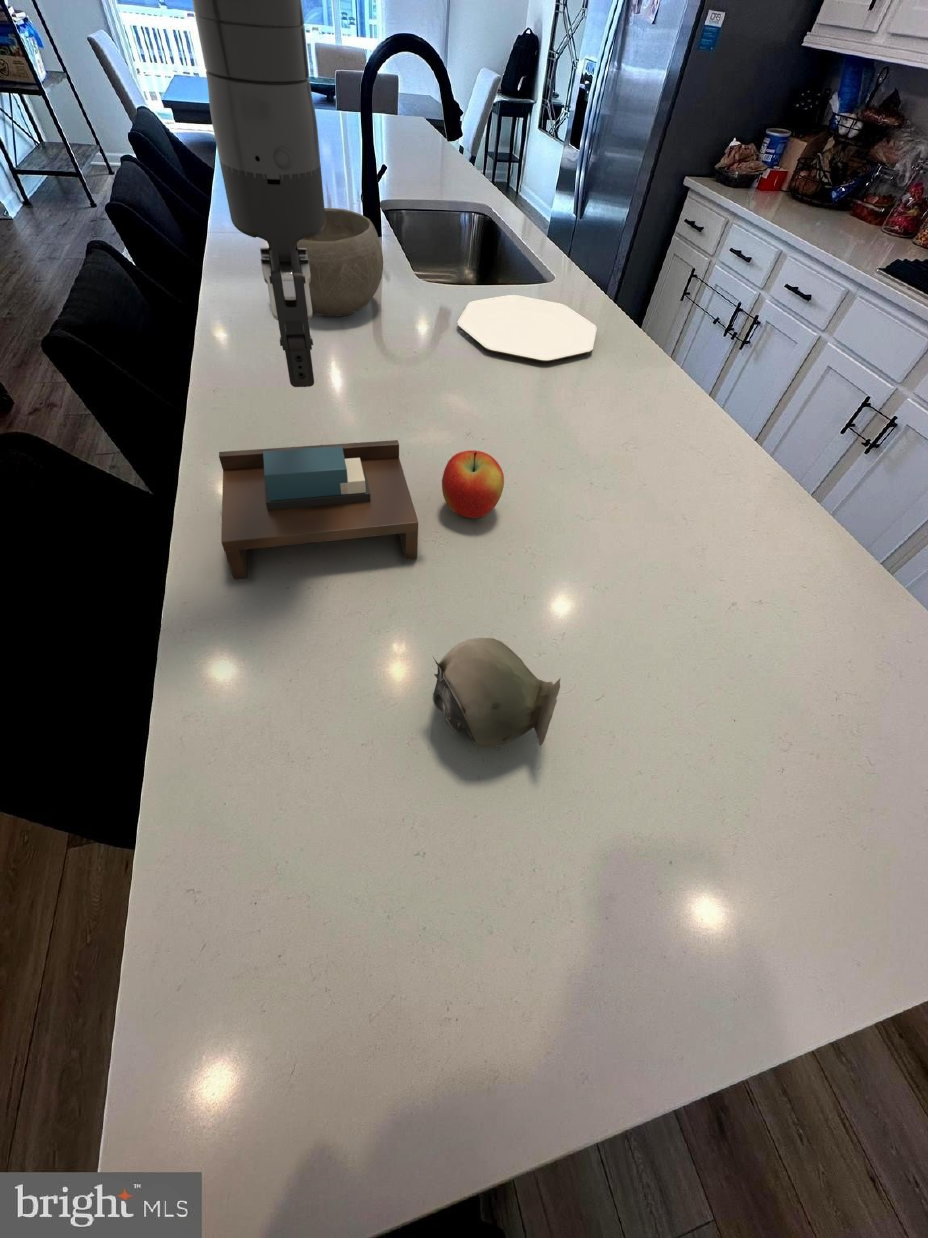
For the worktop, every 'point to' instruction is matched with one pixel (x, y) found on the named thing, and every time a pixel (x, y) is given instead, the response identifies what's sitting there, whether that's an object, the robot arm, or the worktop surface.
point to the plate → (528, 328)
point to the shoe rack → (269, 528)
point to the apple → (472, 483)
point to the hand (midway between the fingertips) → (299, 362)
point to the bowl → (343, 263)
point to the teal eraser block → (313, 478)
